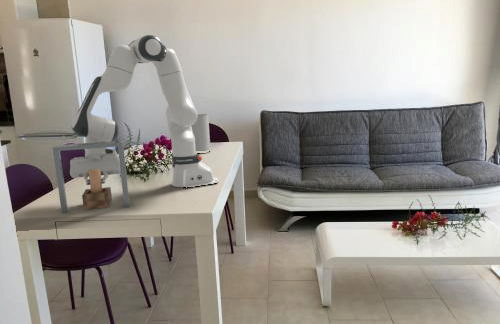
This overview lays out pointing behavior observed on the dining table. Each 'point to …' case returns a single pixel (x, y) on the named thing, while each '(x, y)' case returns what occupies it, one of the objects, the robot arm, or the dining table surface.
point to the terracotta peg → (95, 181)
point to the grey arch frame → (89, 146)
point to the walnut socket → (97, 199)
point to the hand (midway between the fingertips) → (95, 183)
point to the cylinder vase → (201, 133)
